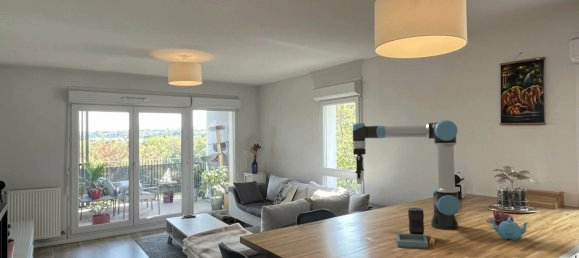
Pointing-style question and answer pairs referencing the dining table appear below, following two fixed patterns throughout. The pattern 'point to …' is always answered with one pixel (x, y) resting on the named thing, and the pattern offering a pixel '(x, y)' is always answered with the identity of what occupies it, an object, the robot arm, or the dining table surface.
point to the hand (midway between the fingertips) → (360, 182)
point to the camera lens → (416, 221)
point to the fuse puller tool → (432, 241)
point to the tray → (412, 241)
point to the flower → (499, 217)
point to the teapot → (509, 229)
